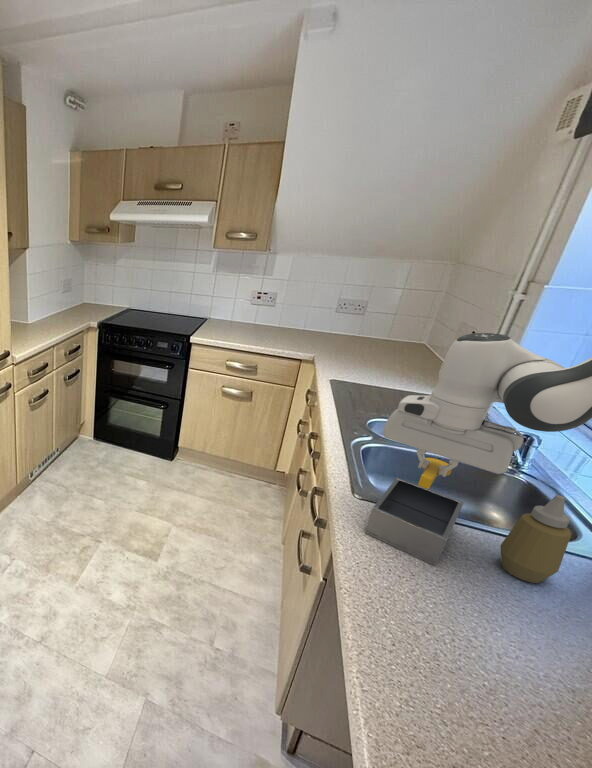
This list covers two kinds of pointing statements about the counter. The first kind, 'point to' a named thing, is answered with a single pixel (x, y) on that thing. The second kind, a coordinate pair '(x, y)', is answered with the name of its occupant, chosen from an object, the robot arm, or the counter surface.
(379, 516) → the grey open box
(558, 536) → the squeeze bottle
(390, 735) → the counter surface
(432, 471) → the yellow letter t
